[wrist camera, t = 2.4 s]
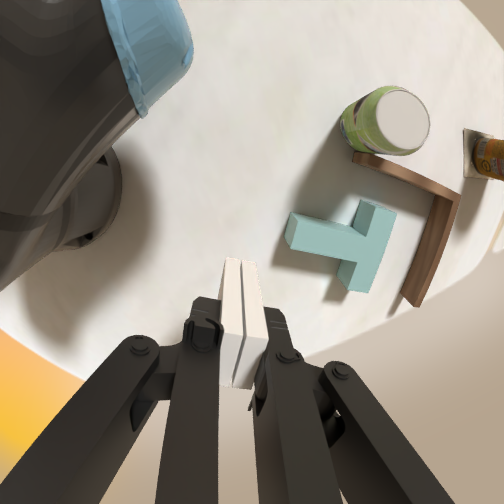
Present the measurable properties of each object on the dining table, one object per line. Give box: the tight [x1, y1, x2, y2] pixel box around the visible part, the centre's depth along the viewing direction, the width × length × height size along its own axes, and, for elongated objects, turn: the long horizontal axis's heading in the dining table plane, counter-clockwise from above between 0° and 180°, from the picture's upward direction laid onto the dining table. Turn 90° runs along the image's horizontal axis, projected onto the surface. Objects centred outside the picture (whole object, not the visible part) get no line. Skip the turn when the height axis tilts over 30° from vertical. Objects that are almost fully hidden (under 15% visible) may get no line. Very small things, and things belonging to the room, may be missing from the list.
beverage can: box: [340, 86, 430, 156], centre depth 22 cm, size 6×7×12 cm
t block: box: [284, 200, 397, 293], centre depth 30 cm, size 11×10×4 cm
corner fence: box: [352, 152, 461, 307], centre depth 31 cm, size 15×16×4 cm
